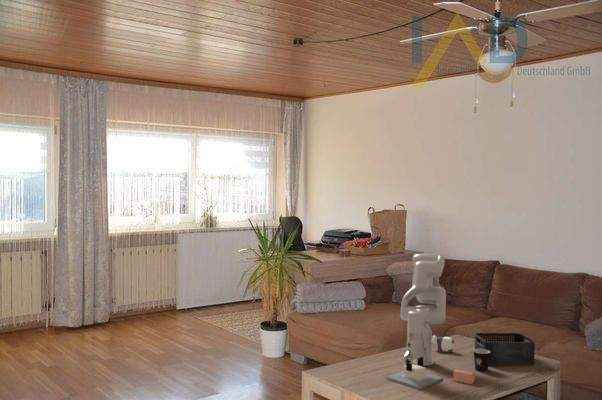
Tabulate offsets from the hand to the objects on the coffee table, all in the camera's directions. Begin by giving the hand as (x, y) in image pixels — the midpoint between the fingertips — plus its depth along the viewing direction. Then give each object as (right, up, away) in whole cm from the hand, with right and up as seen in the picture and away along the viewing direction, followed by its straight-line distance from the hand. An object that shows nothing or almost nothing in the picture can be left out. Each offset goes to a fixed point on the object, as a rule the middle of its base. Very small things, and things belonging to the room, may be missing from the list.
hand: (414, 368), depth 291 cm
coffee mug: (+39, -5, +13) cm, 41 cm away
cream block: (0, -4, -1) cm, 4 cm away
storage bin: (+56, -5, +31) cm, 64 cm away
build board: (0, -5, -1) cm, 5 cm away
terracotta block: (+24, -6, -2) cm, 25 cm away
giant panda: (+26, -4, +47) cm, 54 cm away
